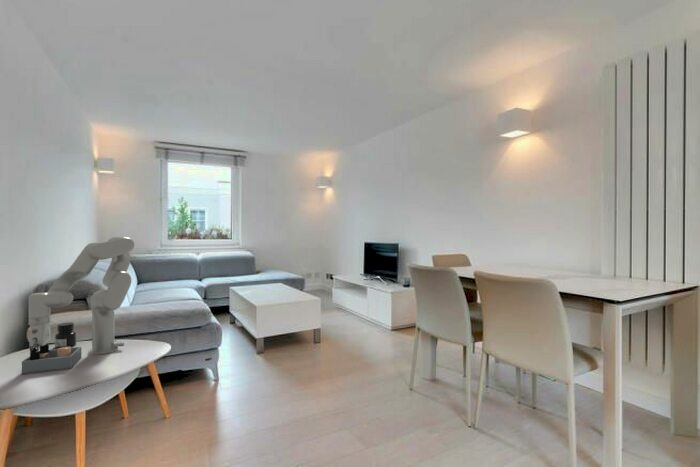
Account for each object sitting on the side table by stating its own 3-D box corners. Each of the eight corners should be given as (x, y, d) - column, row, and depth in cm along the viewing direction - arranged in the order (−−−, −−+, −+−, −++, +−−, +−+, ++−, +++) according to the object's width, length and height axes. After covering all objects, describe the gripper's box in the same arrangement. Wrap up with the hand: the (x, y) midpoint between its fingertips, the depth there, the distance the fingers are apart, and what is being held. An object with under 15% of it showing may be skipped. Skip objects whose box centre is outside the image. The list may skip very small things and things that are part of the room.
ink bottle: (51, 347, 188) (51, 324, 188) (70, 342, 196) (70, 321, 196) (60, 349, 184) (60, 327, 183) (79, 345, 191) (79, 323, 191)
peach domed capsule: (72, 360, 167) (72, 346, 167) (68, 364, 162) (68, 349, 162) (59, 362, 165) (59, 347, 165) (55, 365, 160) (55, 350, 160)
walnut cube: (35, 364, 161) (35, 354, 161) (49, 363, 163) (49, 352, 163) (30, 368, 157) (30, 357, 157) (44, 367, 159) (44, 356, 159)
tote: (81, 358, 172) (81, 346, 172) (71, 368, 159) (71, 356, 159) (36, 362, 165) (36, 351, 165) (21, 374, 152) (21, 361, 152)
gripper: (41, 323, 153) (41, 363, 153) (57, 315, 169) (57, 350, 169) (19, 325, 151) (19, 365, 151) (37, 316, 167) (37, 352, 167)
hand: (39, 357), depth 160 cm, fingers open, 9 cm apart
